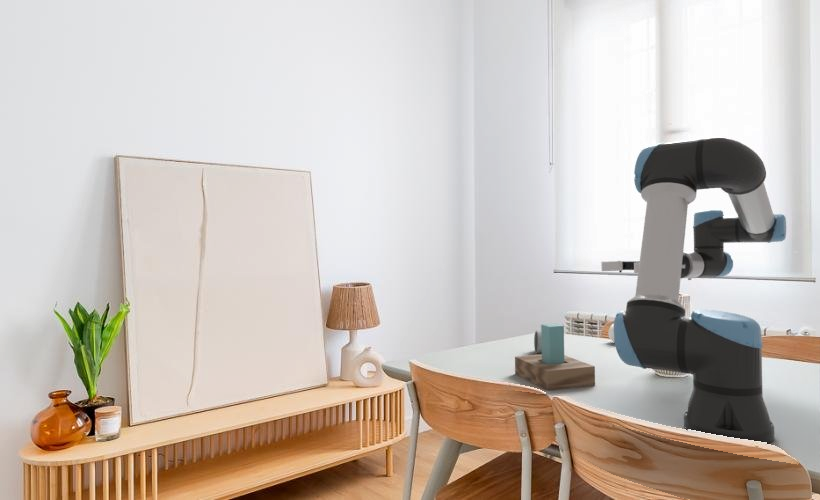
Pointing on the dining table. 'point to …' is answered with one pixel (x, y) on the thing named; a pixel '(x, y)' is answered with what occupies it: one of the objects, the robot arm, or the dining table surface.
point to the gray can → (538, 342)
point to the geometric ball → (611, 332)
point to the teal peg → (552, 343)
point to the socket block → (555, 372)
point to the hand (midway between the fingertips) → (617, 267)
